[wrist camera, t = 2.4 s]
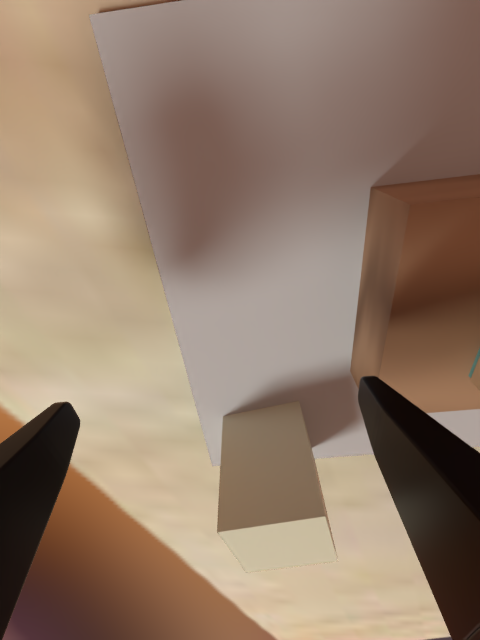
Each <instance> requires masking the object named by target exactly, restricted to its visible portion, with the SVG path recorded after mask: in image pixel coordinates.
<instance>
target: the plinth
mask: <svg viewBox="0 0 480 640" xmlns="http://www.w3.org/2000/svg"><path fill="white" fill-rule="evenodd" d="M479 348H480V174H477V175H468V176H460V177H451V178H443V179H434V180H426V181H417V182H409V183H401V184H392V185H384V186H375V187H371V189H370V198H369V207H368V216H367V225H366V233H365V242H364V251H363V260H362V269H361V278H360V287H359V296H358V305H357V314H356V323H355V332H354V341H353V350H352V359H351V368H350V372H351V374H352V376H353V379H354V381H355V383H356V385H357V387H358V389H359V383H360V379H361V377H363V376H377V377H378V378H379V379H381V380H382V381H384V382H385V383H386V384H388V385H389V386H390V387H392V388H393V389H394V390H396V391H397V392H398V393H400V394H401V395H402V396H404V397H405V398H406V399H408V400H409V401H410V402H412V403H413V404H414V405H416V406H417V407H419V408H420V409H421V410H423V411H424V412H425V413H435V412H448V411H460V410H473V409H480V391H479V390H478V389H477V388H476V387H475V386H474V384H473V383H472V382H471V381H470V379H471V378H470V377H469V373H470V371H471V368H472V366H473V363H474V361H475V358H476V355H477V353H478V350H479Z"/></svg>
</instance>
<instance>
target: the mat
mask: <svg viewBox="0 0 480 640" xmlns="http://www.w3.org/2000/svg"><path fill="white" fill-rule="evenodd" d="M89 17H90V21H91V24H92V28H93V32H94V35H95V39H96V43H97V46H98V50H99V54H100V57H101V61H102V65H103V68H104V72H105V76H106V79H107V83H108V87H109V90H110V94H111V98H112V101H113V105H114V109H115V112H116V116H117V119H118V123H119V127H120V130H121V134H122V138H123V141H124V145H125V149H126V152H127V156H128V160H129V163H130V167H131V171H132V174H133V178H134V182H135V185H136V189H137V193H138V196H139V200H140V204H141V207H142V211H143V215H144V218H145V222H146V225H147V229H148V233H149V236H150V240H151V244H152V247H153V251H154V255H155V258H156V262H157V266H158V269H159V273H160V277H161V280H162V284H163V288H164V291H165V295H166V299H167V302H168V306H169V310H170V313H171V317H172V321H173V324H174V328H175V331H176V335H177V339H178V342H179V346H180V350H181V353H182V357H183V361H184V364H185V368H186V372H187V375H188V379H189V383H190V386H191V390H192V394H193V397H194V401H195V405H196V408H197V412H198V416H199V419H200V423H201V426H202V430H203V434H204V437H205V441H206V445H207V448H208V452H209V456H210V459H211V463H212V466H220V464H221V444H222V423H223V416H227V415H232V414H237V413H242V412H246V411H251V410H256V409H261V408H266V407H271V406H276V405H281V404H285V403H290V402H295V401H299V402H300V406H301V410H302V414H303V417H304V421H305V425H306V428H307V432H308V436H309V440H310V443H311V447H312V451H313V455H314V459H317V458H331V457H344V456H358V455H372V454H374V453H373V450H372V447H371V444H370V440H369V437H368V434H367V430H366V427H365V423H364V420H363V417H362V413H361V410H360V407H359V403H358V390H359V389H358V387H357V385H356V383H355V381H354V379H353V376H352V374H351V372H350V368H351V359H352V350H353V341H354V332H355V323H356V314H357V305H358V296H359V287H360V278H361V269H362V260H363V251H364V242H365V233H366V225H367V216H368V207H369V198H370V189H371V187H375V186H384V185H392V184H401V183H409V182H417V181H426V180H434V179H443V178H451V177H460V176H468V175H477V174H480V0H181V1H175V2H168V3H162V4H155V5H149V6H143V7H136V8H130V9H123V10H117V11H110V12H104V13H97V14H91V15H89ZM427 414H428V415H429V416H431V417H432V418H433V419H435V420H436V421H437V422H439V423H440V424H441V425H443V426H444V427H445V428H447V429H448V430H449V431H451V432H452V433H453V434H455V435H456V436H458V437H459V438H460V439H462V440H463V441H464V442H466V443H467V444H468V445H470V446H471V447H480V409H473V410H460V411H448V412H435V413H427Z"/></svg>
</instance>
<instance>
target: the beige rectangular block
mask: <svg viewBox="0 0 480 640" xmlns="http://www.w3.org/2000/svg"><path fill="white" fill-rule="evenodd" d="M217 533H218V534H219V536H220V537H221V538H222V540H223V541H224V543H225V544H226V545H227V547H228V548H229V550H230V551H231V552H232V554H233V555H234V557H235V558H236V559H237V561H238V562H239V564H240V565H241V566H242V568H243V569H244V571H245V572H246V573H251V572H259V571H267V570H275V569H283V568H291V567H299V566H307V565H315V564H323V563H331V562H338V558H337V554H336V550H335V546H334V541H333V537H332V533H331V528H330V524H329V520H328V516H327V511H326V507H325V503H324V498H323V494H322V490H321V485H320V481H319V477H318V473H317V468H316V464H315V460H314V455H313V451H312V447H311V443H310V440H309V436H308V432H307V428H306V425H305V421H304V417H303V414H302V410H301V406H300V402H299V401H295V402H290V403H285V404H281V405H276V406H271V407H266V408H261V409H256V410H251V411H246V412H242V413H237V414H232V415H227V416H223V423H222V444H221V464H220V484H219V505H218V525H217Z"/></svg>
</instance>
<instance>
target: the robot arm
mask: <svg viewBox="0 0 480 640" xmlns="http://www.w3.org/2000/svg"><path fill="white" fill-rule="evenodd" d="M358 403H359V407H360V410H361V413H362V417H363V420H364V423H365V427H366V430H367V434H368V437H369V440H370V444H371V447H372V450H373V453H374V455H375V458H376V460H377V463H378V465H379V468H380V470H381V472H382V475H383V477H384V479H385V482H386V484H387V486H388V489H389V491H390V494H391V496H392V498H393V501H394V503H395V505H396V508H397V510H398V512H399V515H400V517H401V519H402V522H403V524H404V527H405V529H406V531H407V534H408V536H409V538H410V541H411V543H412V545H413V548H414V550H415V553H416V555H417V557H418V560H419V562H420V564H421V567H422V569H423V571H424V574H425V576H426V579H427V581H428V583H429V586H430V588H431V590H432V593H433V595H434V597H435V600H436V602H437V605H438V607H439V609H440V612H441V614H442V616H443V619H444V621H445V623H446V626H447V628H448V631H449V633H450V635H451V638H452V640H480V453H479V452H478V451H476V450H475V449H474V448H472V447H471V446H470V445H468V444H467V443H466V442H464V441H463V440H462V439H460V438H459V437H458V436H456V435H455V434H453V433H452V432H451V431H449V430H448V429H447V428H445V427H444V426H443V425H441V424H440V423H439V422H437V421H436V420H435V419H433V418H432V417H431V416H429V415H428V414H427V413H425V412H424V411H423V410H421V409H420V408H419V407H417V406H416V405H414V404H413V403H412V402H410V401H409V400H408V399H406V398H405V397H404V396H402V395H401V394H400V393H398V392H397V391H396V390H394V389H393V388H392V387H390V386H389V385H388V384H386V383H385V382H384V381H382V380H381V379H379V378H378V377H377V376H363V377H361V379H360V383H359V390H358ZM79 428H80V419H79V417H78V415H77V413H76V412H75V410H74V408H73V407H72V405H71V404H70V403H69V402H58V403H54V404H52V405H51V406H50V407H48V408H47V409H46V410H44V411H43V412H42V413H40V414H39V415H38V416H36V417H35V418H34V419H32V420H31V421H30V422H28V423H27V424H26V425H24V426H23V427H22V428H21V429H19V430H18V431H17V432H15V433H14V434H13V435H11V436H10V437H9V438H7V439H6V440H5V441H3V442H2V443H1V444H0V640H2V638H3V636H4V633H5V631H6V628H7V626H8V623H9V621H10V618H11V615H12V613H13V610H14V608H15V605H16V602H17V600H18V597H19V595H20V592H21V589H22V587H23V585H24V582H25V579H26V577H27V574H28V572H29V569H30V567H31V564H32V561H33V559H34V556H35V554H36V551H37V549H38V546H39V543H40V541H41V538H42V536H43V533H44V530H45V528H46V525H47V523H48V520H49V518H50V515H51V513H52V510H53V507H54V505H55V502H56V500H57V497H58V494H59V492H60V489H61V487H62V484H63V482H64V479H65V476H66V473H67V470H68V467H69V464H70V460H71V456H72V453H73V449H74V446H75V442H76V439H77V435H78V431H79Z"/></svg>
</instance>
